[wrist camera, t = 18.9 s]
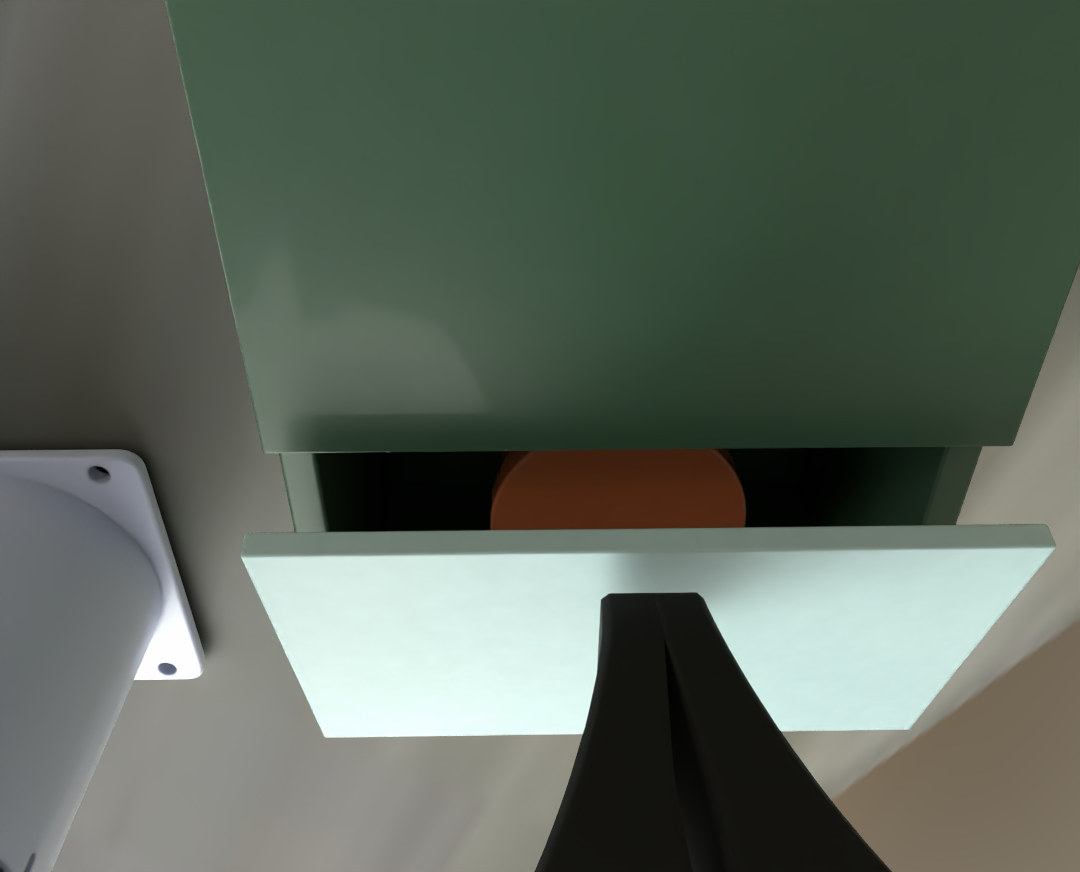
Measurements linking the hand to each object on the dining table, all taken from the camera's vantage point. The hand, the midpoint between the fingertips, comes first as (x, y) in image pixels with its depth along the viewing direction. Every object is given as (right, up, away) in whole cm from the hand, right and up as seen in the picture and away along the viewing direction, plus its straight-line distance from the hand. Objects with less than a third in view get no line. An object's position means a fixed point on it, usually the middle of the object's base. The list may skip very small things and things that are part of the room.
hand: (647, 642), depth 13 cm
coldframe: (0, +7, +7) cm, 10 cm away
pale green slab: (0, 0, +2) cm, 2 cm away
